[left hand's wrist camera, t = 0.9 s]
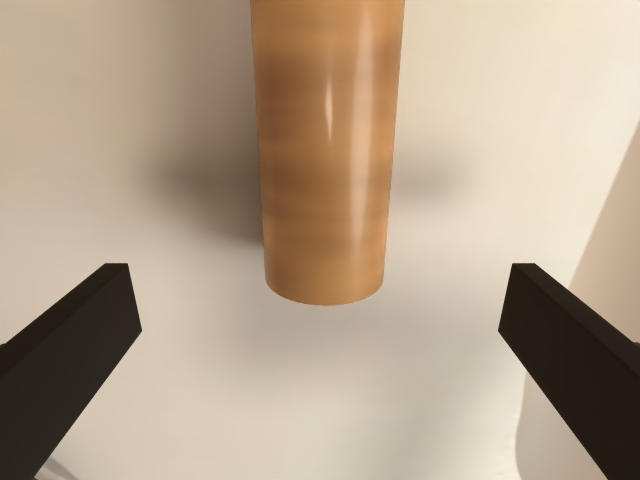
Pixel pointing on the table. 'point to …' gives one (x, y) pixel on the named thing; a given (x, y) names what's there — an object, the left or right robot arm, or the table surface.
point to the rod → (325, 142)
